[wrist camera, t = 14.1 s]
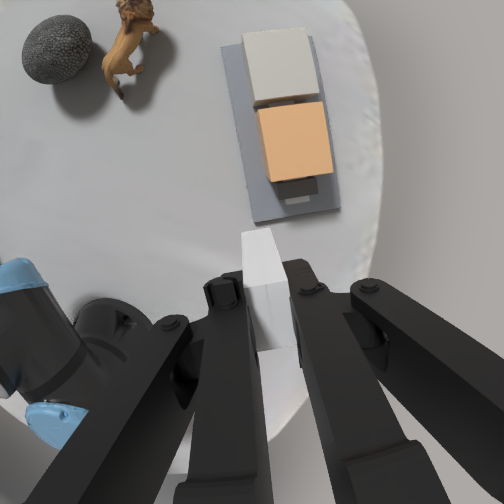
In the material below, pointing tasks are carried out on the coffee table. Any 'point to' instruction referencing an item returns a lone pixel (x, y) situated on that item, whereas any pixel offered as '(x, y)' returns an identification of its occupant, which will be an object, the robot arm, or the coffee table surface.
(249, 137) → the rail board
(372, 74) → the coffee table surface
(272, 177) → the block
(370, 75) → the coffee table surface
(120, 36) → the lion figurine
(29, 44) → the decorative ball
